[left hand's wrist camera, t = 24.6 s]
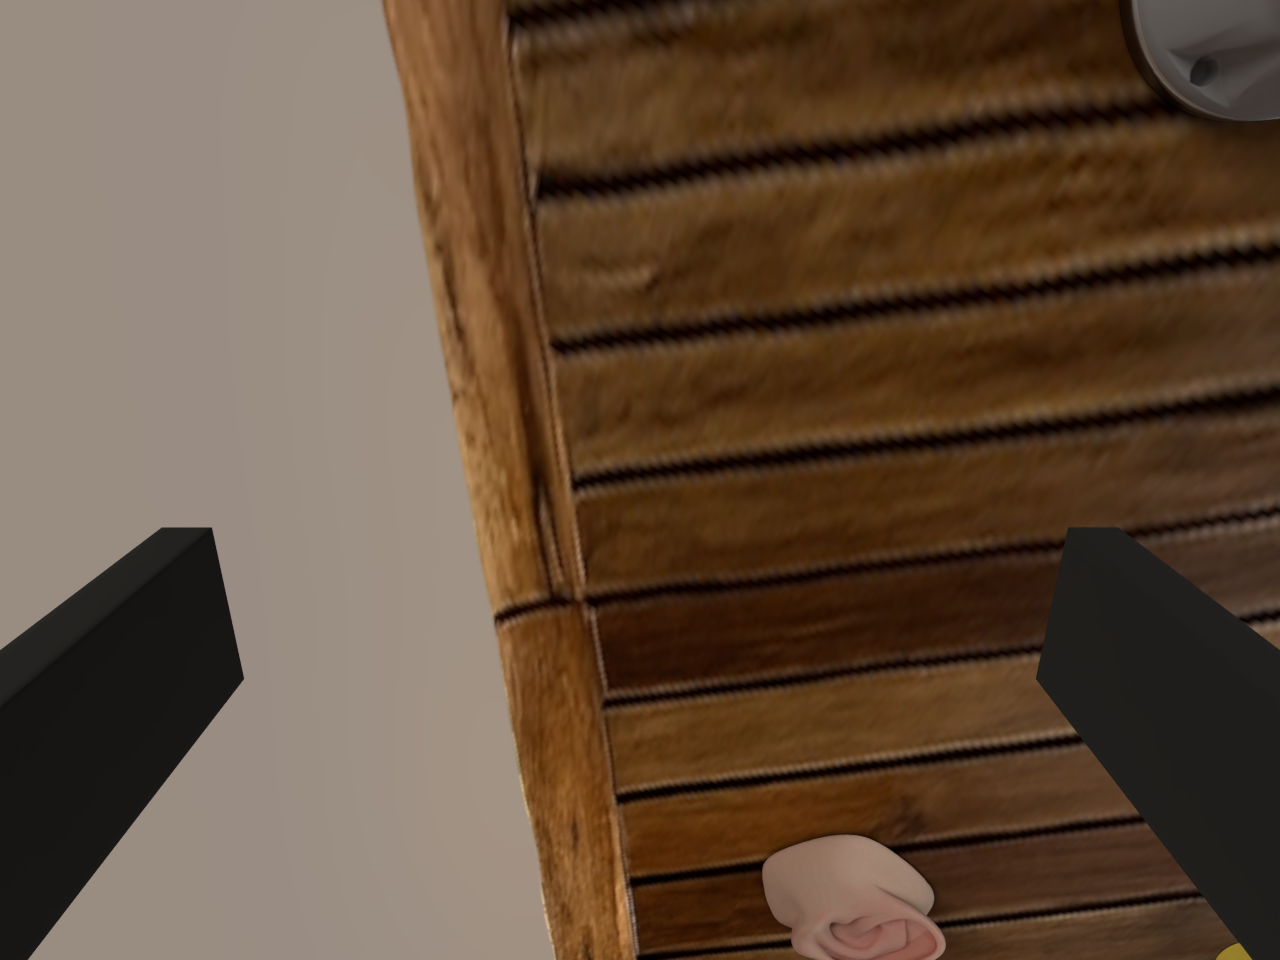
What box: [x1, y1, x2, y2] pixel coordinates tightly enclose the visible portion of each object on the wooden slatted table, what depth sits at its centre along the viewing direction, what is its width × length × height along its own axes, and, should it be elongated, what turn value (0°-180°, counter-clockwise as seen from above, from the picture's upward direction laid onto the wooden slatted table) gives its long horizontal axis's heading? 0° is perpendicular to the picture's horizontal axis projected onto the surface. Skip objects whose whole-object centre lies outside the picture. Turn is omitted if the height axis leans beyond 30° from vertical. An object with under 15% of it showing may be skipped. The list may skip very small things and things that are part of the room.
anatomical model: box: [762, 834, 946, 960], centre depth 61 cm, size 13×4×12 cm
